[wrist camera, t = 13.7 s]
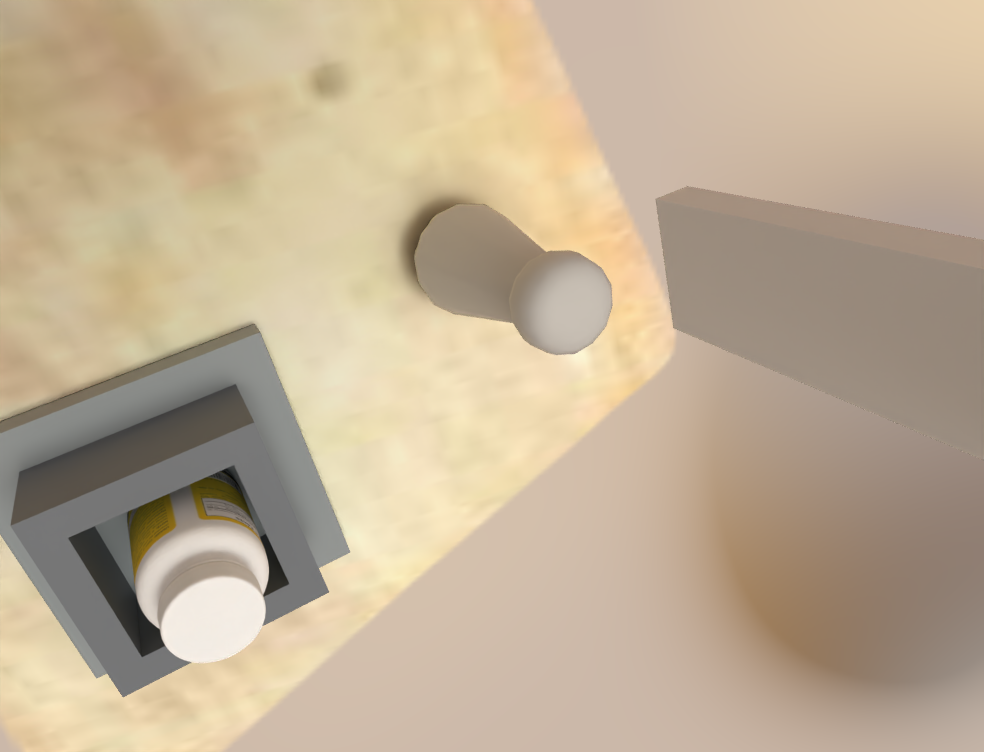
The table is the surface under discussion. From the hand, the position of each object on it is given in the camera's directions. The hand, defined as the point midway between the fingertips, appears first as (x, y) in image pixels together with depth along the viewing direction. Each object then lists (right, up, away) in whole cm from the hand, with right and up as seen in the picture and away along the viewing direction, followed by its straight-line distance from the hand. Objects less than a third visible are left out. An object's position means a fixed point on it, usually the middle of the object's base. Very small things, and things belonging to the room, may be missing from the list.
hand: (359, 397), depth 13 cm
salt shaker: (0, +7, +29) cm, 30 cm away
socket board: (-14, -6, +27) cm, 31 cm away
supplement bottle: (-13, -6, +26) cm, 30 cm away
